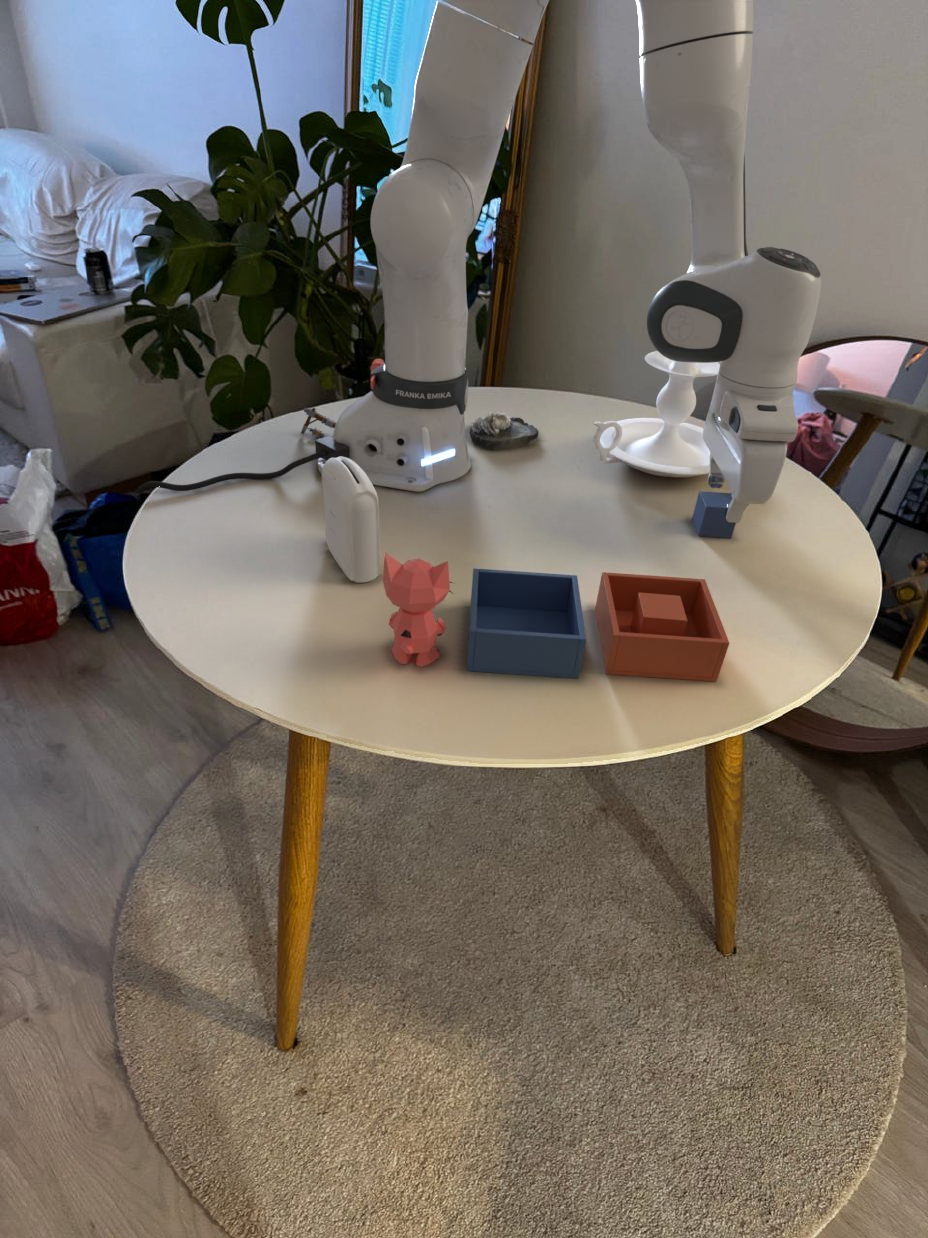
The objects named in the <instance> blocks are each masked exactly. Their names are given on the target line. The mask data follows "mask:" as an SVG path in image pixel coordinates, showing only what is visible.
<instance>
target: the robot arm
mask: <svg viewBox="0 0 928 1238" xmlns="http://www.w3.org/2000/svg"><path fill="white" fill-rule="evenodd" d="M549 2H550V0H436V4H435V8H434V12H433V16H432V19H431V23H430V27H429V31H428V34H427V38H426V42H425V45H424V50H423V53H422V57H421V61H420V65H419V67H418V72H417V75H416V79H415V83H414V97H413V103H412V111H411V117H410V124H409V130H408V135H407V136H408V137H407V140H406V146H405V151H404V155H403V159H402V162H401V165H400V167H399V168H397V169H396V170H394V171H393V172H391V173H390V174H388V176H387V177H386V178H385V179H384V180H383V181H382V183H381V185H380V186H379V188H378V190H377V191H376V194H375V197H374V200H373V204H372V207H371V212H370V231H371V236H372V240H373V242H374V245H375V253H376V261H377V269H378V274H379V275H378V276H379V281H380V287H381V293H382V301H383V313H384V314H383V315H384V316H383V317H384V359H382V358H376V359H374V360H373V361H372V363H371V365H370V375H369V376H370V377H369V378H370V379H369V380H370V381H369V384H370V391H369V392H368V393H366V394H365V395H363V396H362V397H360V398H358V399H357V400H356V401H355V402H353V403H352V404H350V405H349V406H347V407H346V408H344V410H343V411H342V412H341V413H340V415H339V416H338V417H337V420H336V425H335V428H333V432H332V433H333V434H332V436H324V437H321V438H320V437H319V438H318V439H315V440H314V445H315V447H314V448H315V453H313V454H310V455H307V456H304V457H301V458H299V459H296V460H295V461H293V462H291V463H289V464H287V465H286V466H285V467H283V468H281V469H279V470H277V471H272V472H262V473H261V472H231V473H226V474H221V475H218V476H214V477H210V478H208V479H205V480H201V481H197V482H194V483H188V484H175V483H168V482H165V481H158V480H151V481H146V482H143V483H142V484H140V485H139V486H138V487H137V488H136V489H135V490H134V494H137V495H138V494H142V493H143V492H144V491H146V490H148V489H151V488H159V489H164V490H169V491H176V492H189V491H194V490H198V489H203V488H205V487H209V486H211V485H214V484H217V483H221V482H226V481H230V480H231V481H232V480H239V479H240V480H241V479H243V480H244V479H245V480H270V479H276V478H280V477H282V476H284V475H286V474H288V473H289V472H291V471H292V470H293V469H295V468H297V467H299V466H303V465H304V464H307V463H309V462H313V461H316V460H317V469H318V471H319V473H320V474H321V475H322V469H323V466H324V464H325V463H326V461H327V460H329V459H330V458H337V457H339V456H342V457H346V458H348V459H350V460H352V461H353V462H355V463H356V464H357V465H358V466H359V467H360V468H361V469H362V470H363V471H364V472H365V473H366V475H367V477H368V478H369V480H370V481H371V483H372V485H373V486H374V485H375V486H380V487H386V488H392V489H398V490H404V491H411V492H418V493H421V492H425V491H427V490H429V489H431V488H432V487H434V486H436V485H440V484H444V483H449V482H452V481H454V480H455V481H456V480H457V479H459V478H461V477H463V476H464V475H466V474H467V473H468V472H469V471H470V469H471V466H472V462H471V459H470V455H469V450H468V444H467V436H466V425H465V412H466V409H467V407H468V395H469V379H468V377H469V376H468V375H469V371H468V369H467V368H466V358H467V342H468V341H467V340H468V324H469V323H468V322H469V308H468V298H467V296H468V295H467V268H466V267H467V259H466V258H467V243H468V238H469V236H470V235H471V234H472V233H473V231H474V229H475V228H476V225H477V223H478V219H479V217H480V213H481V211H482V206H483V204H484V201H485V198H486V194H487V192H488V188H489V184H490V181H491V178H492V176H493V171H494V169H495V165H496V162H497V158H498V155H499V151H500V149H501V144H502V141H503V138H504V133H505V130H506V127H507V124H508V121H509V118H510V115H511V112H512V109H513V106H514V103H515V99H516V97H517V94H518V91H519V88H520V86H521V82H522V79H523V76H524V74H525V70H526V69H527V65H528V62H529V58H530V55H531V52H532V49H533V47H534V45H533V44H535V41H536V38H537V35H538V31H539V28H540V25H541V22H542V20H543V17H544V14H545V12H546V9H547V6H548V4H549ZM635 3H636V9H637V17H638V35H639V38H638V39H639V40H638V41H639V43H638V45H639V57H640V58H639V81H640V82H639V83H640V92H641V100H642V105H643V112H644V117H645V120H646V125H647V128H648V131H649V133H650V134H651V136H653V138H654V139H655V141H656V142H658V144H659V145H661V147H663V148H664V149H665V150H666V151H667V152H669V154H670V155H671V156H672V157H673V158H674V160H675V161H676V162H677V164H678V165H679V167H680V169H681V170H682V172H683V175H684V178H685V181H686V185H687V190H688V199H689V201H688V202H689V216H690V217H689V219H690V220H689V221H690V238H691V239H690V240H691V259H690V263H689V266H688V269H687V271H686V273H684V274H682V275H680V276H679V277H677V278H675V279H673V280H671V281H670V282H669V283H667V284H666V285H664V286H663V287H662V288H661V289H659V291H657V293H656V294H655V295H654V297H653V298H652V300H651V302H650V305H649V306H648V311H647V315H646V329H647V335H648V337H649V340H650V342H651V344H652V345H653V347H654V348H655V350H656V351H658V352H659V353H660V354H662V355H663V356H665V357H666V358H668V359H671V360H674V361H679V362H693V363H712V362H718V363H719V364H720V368H719V372H718V375H716V376H717V377H716V381H715V384H714V389H713V392H712V397H711V401H710V404H709V408H708V411H707V414H706V418H705V421H704V425H703V427H702V428H703V440H704V442H705V443H706V445H707V447H708V449H709V451H710V463H709V473H708V476H707V480H706V482H707V484H708V486H709V487H710V488H711V489H721V488H723V486H724V482H726V484H727V486H728V487H729V489H730V491H731V493H732V495H731V496H732V500H731V502H730V504H727V505H726V509H725V512H724V515H725V518H726V520H727V521H728V522H734V523H736V524H737V523H740V522H741V521H742V518H743V515H744V512H745V510H746V509H747V508H748V507H749V505H765V504H766V503H767V502H768V501H769V500H771V498H772V496H773V494H774V492H775V489H776V487H777V484H778V482H779V478H780V476H781V473H782V470H783V467H784V464H785V461H786V458H787V453H788V442H794V441H795V439H796V437H797V434H798V431H799V422H798V418H797V415H796V411H795V404H794V402H795V401H794V400H795V396H794V394H793V393H794V390H795V387H796V385H797V381H798V368H799V367H798V366H799V361H800V359H801V357H802V355H803V353H804V351H805V349H806V348H807V347H808V344H809V341H810V338H811V335H812V331H813V328H814V324H815V319H816V316H817V312H818V308H819V307H818V306H819V304H820V303H819V302H820V297H821V293H822V292H821V291H822V274H821V271H820V270H819V267H818V266H817V264H816V263H815V262H813V261H812V260H811V259H809V258H808V257H806V256H804V255H802V254H800V253H798V252H796V251H792V250H789V249H785V248H778V247H774V246H765V247H760V248H758V249H756V250H755V251H753V252H752V253H750V254H749V251H748V246H747V224H746V223H747V215H746V214H747V213H746V209H747V208H746V158H745V156H746V155H745V154H746V152H745V150H746V140H747V139H746V137H747V122H748V109H749V100H750V90H751V78H752V67H753V65H752V64H753V47H754V0H635ZM159 486H160V487H159Z"/></svg>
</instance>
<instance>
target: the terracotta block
mask: <svg viewBox="0 0 928 1238" xmlns="http://www.w3.org/2000/svg"><path fill="white" fill-rule="evenodd" d="M686 624H687V618H686V614H685V611H684V607H683V604H682V600H681V597H680V596H676V595H664V594H652V593H638V597H637V601H636V605H635V610H634V614H633V618H632V622H631V629H632V633H640V634H654V635H668V636H683V634H684V631H685V627H686Z"/></svg>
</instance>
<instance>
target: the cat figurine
mask: <svg viewBox="0 0 928 1238" xmlns="http://www.w3.org/2000/svg"><path fill="white" fill-rule="evenodd" d="M382 572H383V573H382V574H383V576H382V583H383V587H384V592H385V596H386V597H387V598H388V600H389V601H390V602H391V604H392V605H393V606H395V607H398V611H395V612H393V613H391V616H390V618H389V620H388V626H390V628H391V629H392V630H393V637H394V645H393V646H392V647H391V649H390V650H391V653H392V655H393V657H394V658H393V659H395V661H397V662H398V663H399V664H400V665H406V664H408V663H409V662H410V661H411V659H412V657H413V656H412V655H413V654H417V655H416V657H415V664H416V666H417V667H420V668H422V667H426V666H429V665H431V664H433V663H434V662H435V661H437V660H438V659H439V658H440V657H441V654H440V649H439V648H437V646H435V644H436V643H437V639H438V637H440V636H442V635H443V634H445V632H446V621H444V620H443V619H442V618H440V617H438V619H437V621H436V619H435V616H434V614H433V611H432V610H433V609H434V608H436V607H437V606H438V605H439V604H440V603H441V604H442V602H443V601H444V600H445V598H446V597H447V595H448V593H449V592H450V593H451V594H453V595H454V596H455V595H456V594H455V593H453V591H451V587H450V584H456V583H455V582H452V581H450V573H449V572H450V571H449V561H448V560H447V561H444V562H442V563H440V564H437V565H435V566H434V565H432V564H431V563H429V561H426V560H424V559H421V558H413V559H408V560H406V561H405V562H403V563H401V562H400V561H399V560H397V559H395V558H394V557H392V556H391V555H390V554H388V553H387V552H384V557H383V571H382Z"/></svg>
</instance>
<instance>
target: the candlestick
mask: <svg viewBox="0 0 928 1238" xmlns="http://www.w3.org/2000/svg"><path fill="white" fill-rule="evenodd" d="M644 361H645V362H646V363H647V364H648V365H649V366H651V367H653V368H654V369H657V370H659V371H663V372H665V373H667V374H668V375H669V378H668V381H667V382H666V384H665V385H664V386H663V387H662V388H661V389H660V391H659V393H658V394H657V397H656V403H655V404H656V405H655V406H656V410H657V414H658V416H659V417H660V418H658V417H636V418H635V417H634V418H627V419H621V420H617V421H614V420H608V421H605V422H602V421H599V420H598V421H594V422H593V425H594V426H596V427H597V429H596V430H595V433H594V436H593V446H594V447H595V449H596V450H597V452H599V460H600V461H601V462H602V463H604V464H616V463H621V462H623V463H624V464H625V465H628V466H629V467H631V468H633V469H636V470H639V471H641V472H642V473H647V474H650V475H653V476H659V477H664V478H665V477H666V478H691V477H699V476H703V475H709V463H710V451H709V449H708V447H707V445H706V443H705V442H704V440H703V428H704V427H701V426H699V425H695V424H692V423H687V422H685V421H686V420H688V418H689V417H690V416H692V414H693V412H694V411H695V409H696V406H697V397H696V392H695V388H694V380H695V379H696V378H704V377H714V376H718V372H719V368H720V364H719V363H718V362H712V363H693V362H679V361H674V360H671V359H668V358H666V357H665V356H663V355H662V354H660V353H659V352H658V351H657V350H654V351H651V352H649V353H647V354H646V355H645V356H644ZM608 454H610V455H612V456H613V457H608Z"/></svg>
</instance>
